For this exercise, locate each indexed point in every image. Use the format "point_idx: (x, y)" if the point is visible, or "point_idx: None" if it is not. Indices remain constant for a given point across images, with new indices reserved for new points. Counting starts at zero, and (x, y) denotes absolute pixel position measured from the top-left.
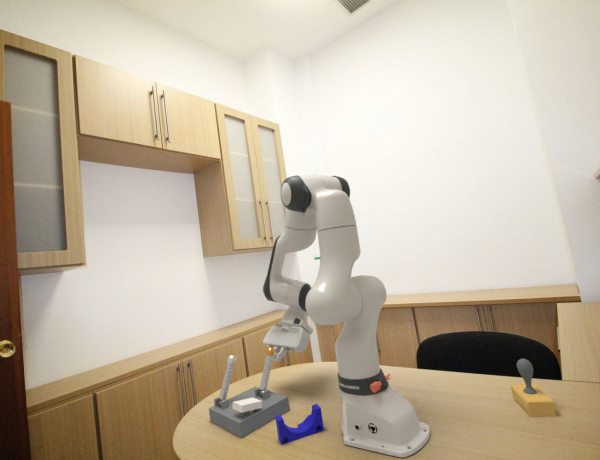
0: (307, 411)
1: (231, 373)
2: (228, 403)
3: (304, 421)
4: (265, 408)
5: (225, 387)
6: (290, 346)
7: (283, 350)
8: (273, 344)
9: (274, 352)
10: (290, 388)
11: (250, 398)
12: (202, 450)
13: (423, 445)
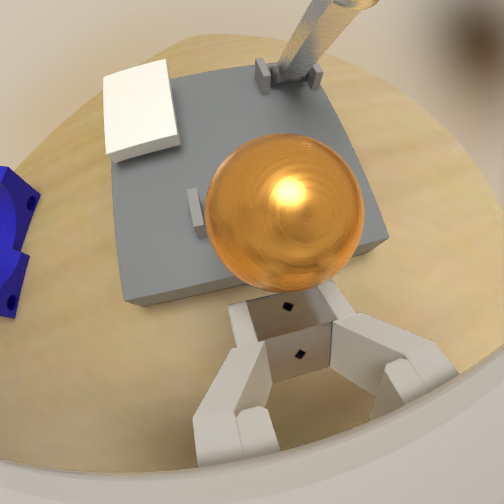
0: (84, 345)
1: (310, 26)
2: (262, 85)
3: (9, 271)
4: (115, 179)
5: (288, 45)
6: (5, 462)
7: (199, 430)
8: (488, 355)
9: (228, 268)
10: (344, 410)
11: (168, 122)
12: (163, 58)
13: None
